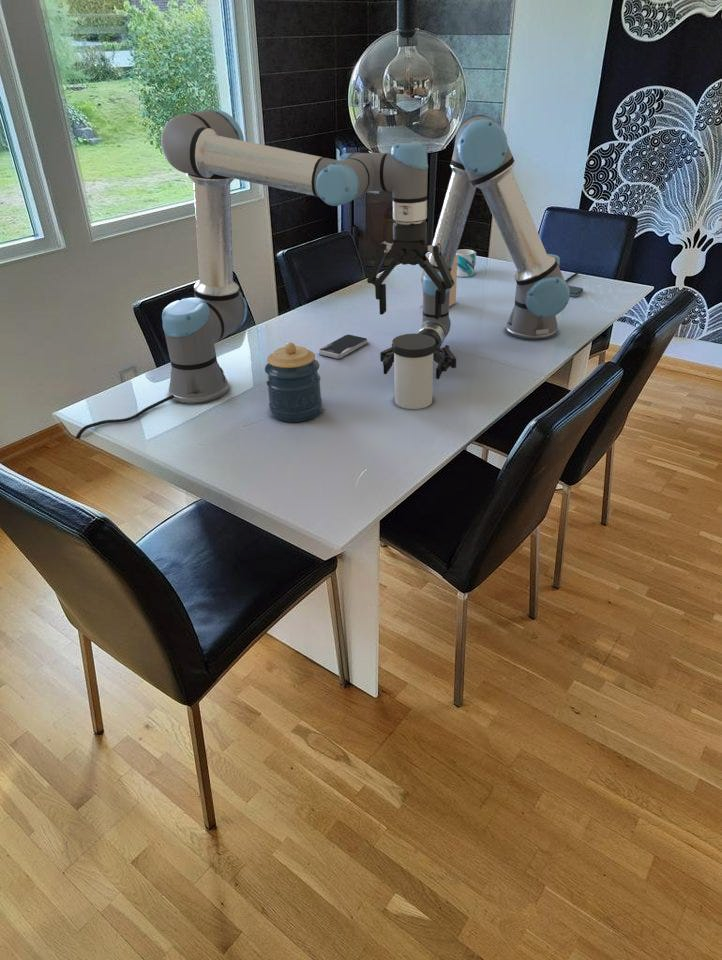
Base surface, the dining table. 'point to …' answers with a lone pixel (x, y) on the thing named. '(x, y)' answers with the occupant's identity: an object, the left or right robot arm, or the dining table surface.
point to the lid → (413, 345)
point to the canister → (293, 384)
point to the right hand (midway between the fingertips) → (410, 371)
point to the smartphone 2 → (575, 291)
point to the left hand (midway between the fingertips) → (410, 315)
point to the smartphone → (342, 346)
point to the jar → (413, 381)
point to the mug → (465, 262)
